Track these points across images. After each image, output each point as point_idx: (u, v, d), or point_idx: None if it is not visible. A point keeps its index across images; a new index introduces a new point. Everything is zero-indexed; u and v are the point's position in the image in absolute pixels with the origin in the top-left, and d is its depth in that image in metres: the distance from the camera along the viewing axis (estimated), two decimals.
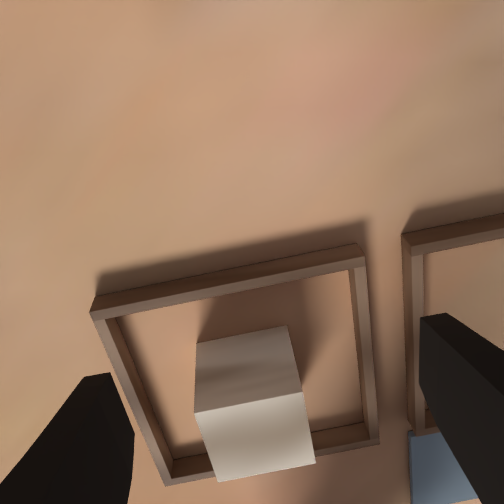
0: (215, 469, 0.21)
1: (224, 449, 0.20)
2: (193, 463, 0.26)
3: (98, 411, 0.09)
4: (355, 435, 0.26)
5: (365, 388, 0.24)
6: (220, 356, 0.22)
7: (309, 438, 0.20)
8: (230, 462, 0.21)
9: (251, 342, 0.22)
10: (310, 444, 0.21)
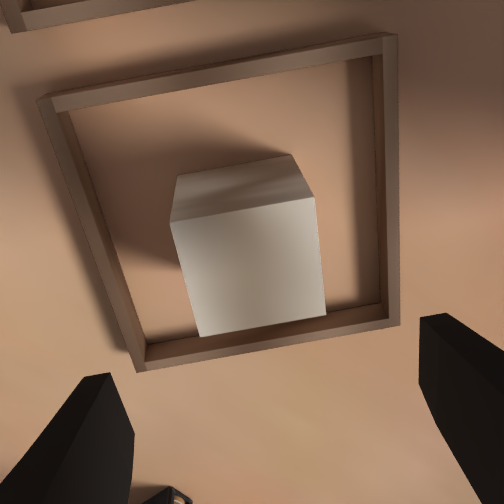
0: (300, 317, 0.17)
1: (265, 308, 0.16)
2: (383, 287, 0.21)
3: (98, 411, 0.09)
4: (379, 73, 0.16)
5: (270, 73, 0.16)
6: None
7: (259, 209, 0.14)
8: (291, 301, 0.16)
9: None
10: (272, 206, 0.14)
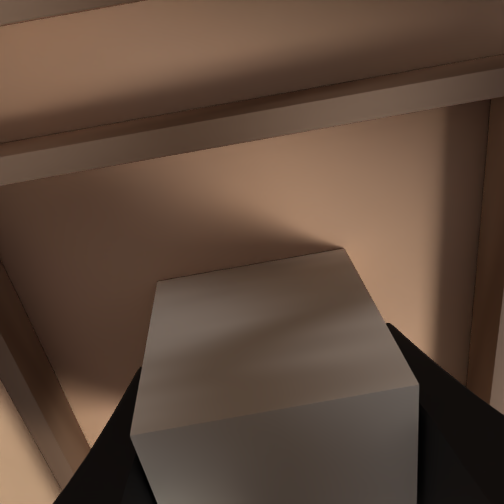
0: None
1: None
2: None
3: None
4: None
5: (321, 126, 0.09)
6: None
7: (310, 407, 0.07)
8: None
9: None
10: (335, 403, 0.07)
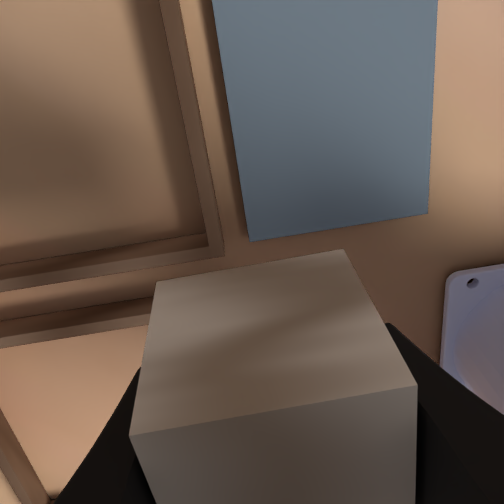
0: None
1: None
2: None
3: None
4: None
5: (128, 326, 0.19)
6: None
7: (308, 408, 0.07)
8: None
9: None
10: (333, 403, 0.07)
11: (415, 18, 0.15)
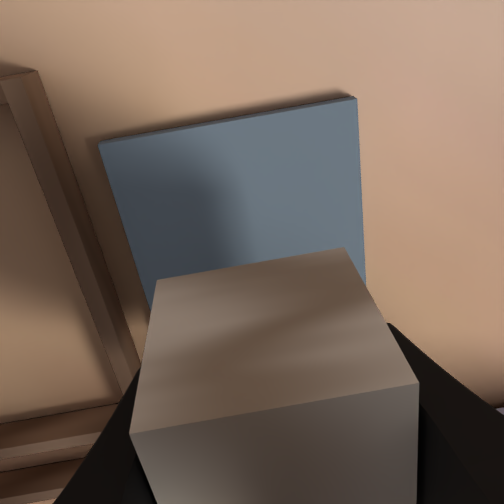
0: None
1: None
2: None
3: None
4: None
5: None
6: None
7: (309, 406, 0.07)
8: None
9: None
10: (335, 401, 0.07)
11: (338, 207, 0.14)
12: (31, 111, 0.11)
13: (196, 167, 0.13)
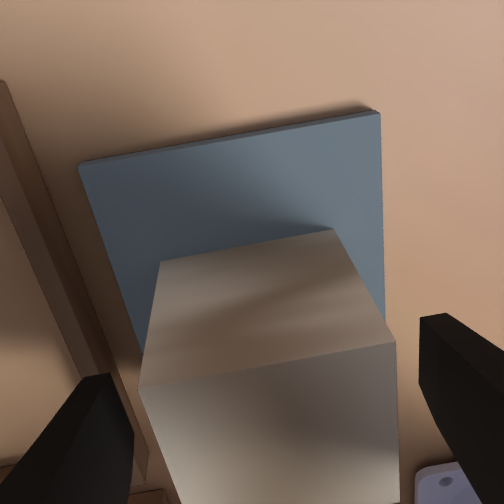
0: None
1: (303, 498, 0.10)
2: None
3: (99, 411, 0.09)
4: None
5: None
6: None
7: (298, 363, 0.08)
8: (344, 488, 0.10)
9: None
10: (320, 359, 0.08)
11: (356, 236, 0.12)
12: None
13: (193, 192, 0.11)
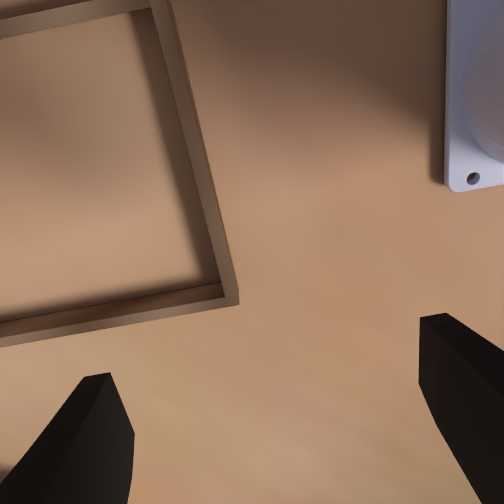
0: None
1: None
2: None
3: (98, 411, 0.09)
4: None
5: (33, 31, 0.15)
6: None
7: None
8: None
9: None
10: None
11: None
12: None
13: None
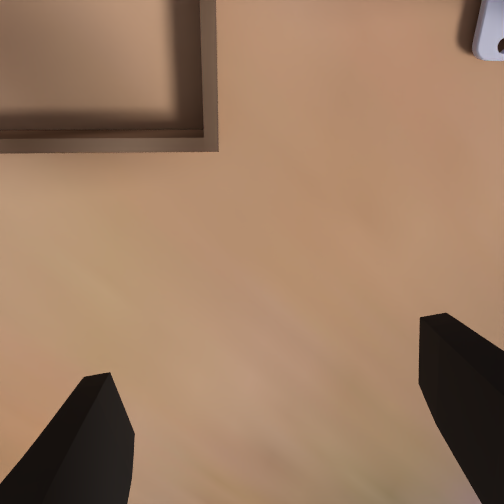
0: None
1: None
2: None
3: (98, 411, 0.09)
4: None
5: None
6: None
7: None
8: None
9: None
10: None
11: None
12: None
13: None
